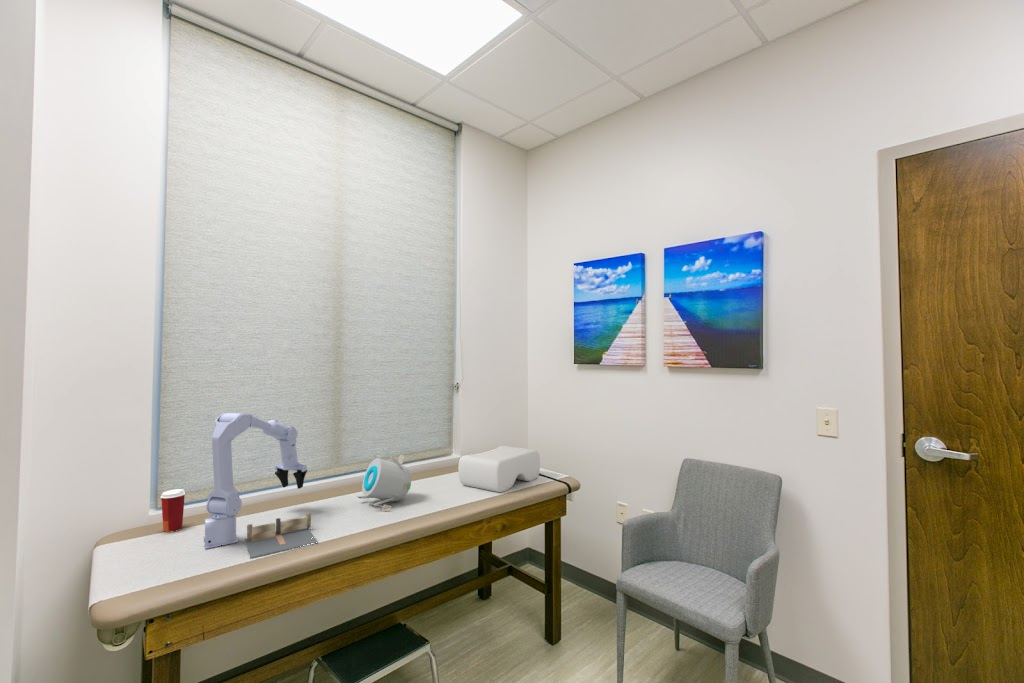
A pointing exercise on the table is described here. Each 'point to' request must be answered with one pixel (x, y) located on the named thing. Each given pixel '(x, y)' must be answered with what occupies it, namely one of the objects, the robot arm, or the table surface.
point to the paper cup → (172, 509)
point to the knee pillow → (499, 468)
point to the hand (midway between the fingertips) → (293, 487)
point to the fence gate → (293, 524)
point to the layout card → (280, 542)
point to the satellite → (386, 480)
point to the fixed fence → (260, 531)
